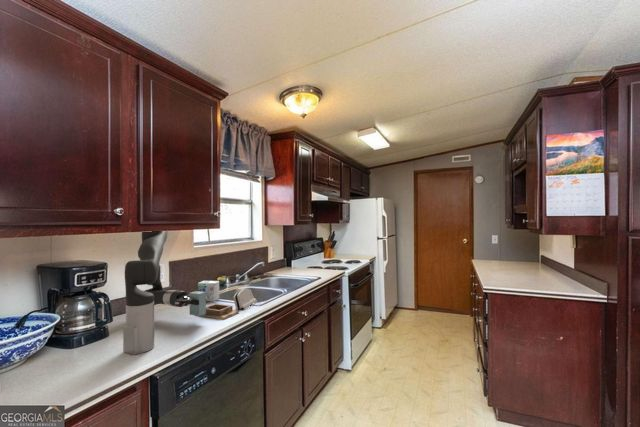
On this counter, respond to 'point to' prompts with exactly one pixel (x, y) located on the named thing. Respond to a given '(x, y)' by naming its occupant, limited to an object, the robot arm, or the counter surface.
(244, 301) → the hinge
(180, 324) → the counter surface
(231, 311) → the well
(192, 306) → the grey-green block
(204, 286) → the light bulb box
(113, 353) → the counter surface
